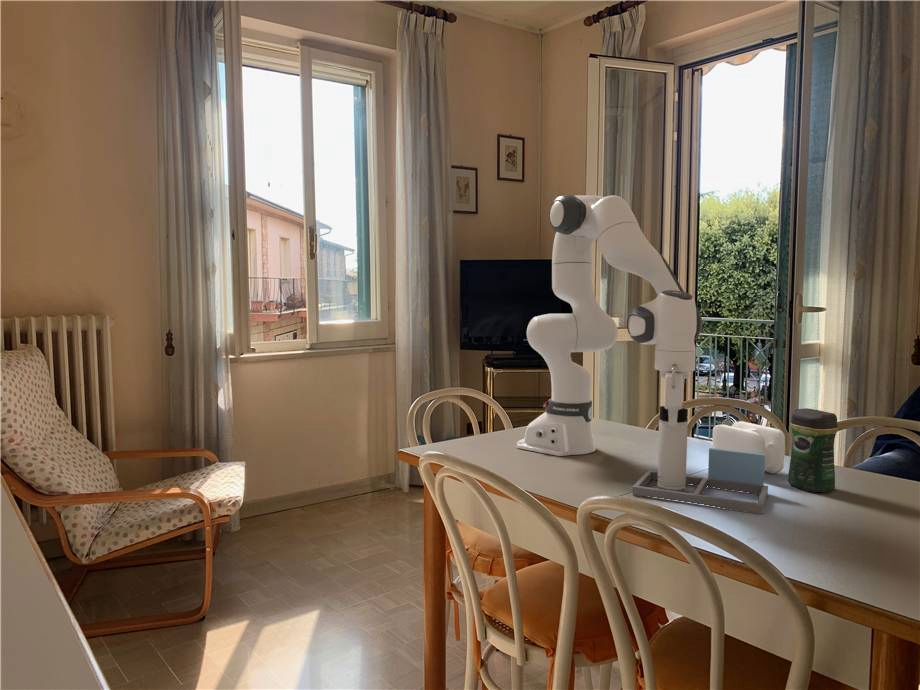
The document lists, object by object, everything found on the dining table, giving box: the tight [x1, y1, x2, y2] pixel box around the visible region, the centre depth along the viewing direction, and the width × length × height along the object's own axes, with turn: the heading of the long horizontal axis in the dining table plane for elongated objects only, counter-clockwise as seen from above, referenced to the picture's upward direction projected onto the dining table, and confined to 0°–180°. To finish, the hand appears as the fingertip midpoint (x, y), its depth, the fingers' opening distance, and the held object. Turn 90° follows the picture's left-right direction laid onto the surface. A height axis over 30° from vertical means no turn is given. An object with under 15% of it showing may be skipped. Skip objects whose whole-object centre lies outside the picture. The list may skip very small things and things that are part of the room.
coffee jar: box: [787, 407, 839, 493], centre depth 161 cm, size 10×8×19 cm
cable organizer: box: [711, 420, 786, 474], centre depth 176 cm, size 15×11×12 cm
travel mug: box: [656, 405, 689, 493], centre depth 159 cm, size 6×7×20 cm
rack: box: [632, 447, 769, 515], centre depth 157 cm, size 27×16×9 cm, turn 62°
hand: (672, 422), depth 158 cm, fingers closed on travel mug, 6 cm apart
